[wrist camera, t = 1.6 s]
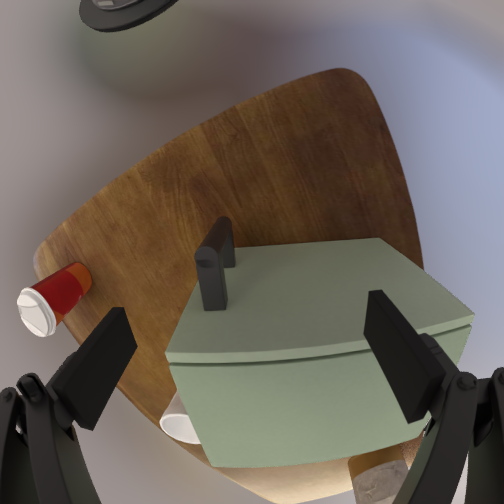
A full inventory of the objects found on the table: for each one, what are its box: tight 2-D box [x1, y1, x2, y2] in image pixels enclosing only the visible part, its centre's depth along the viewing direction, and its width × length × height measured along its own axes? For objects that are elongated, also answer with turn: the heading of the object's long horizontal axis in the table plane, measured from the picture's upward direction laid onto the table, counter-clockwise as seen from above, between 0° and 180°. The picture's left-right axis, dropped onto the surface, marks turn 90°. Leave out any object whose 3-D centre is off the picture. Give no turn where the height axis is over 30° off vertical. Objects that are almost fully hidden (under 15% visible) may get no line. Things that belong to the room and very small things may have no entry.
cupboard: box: [169, 324, 472, 468], centre depth 32 cm, size 18×26×24 cm
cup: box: [160, 390, 201, 444], centre depth 44 cm, size 10×10×13 cm
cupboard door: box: [165, 216, 475, 363], centre depth 28 cm, size 7×26×24 cm, turn 95°
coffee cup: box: [17, 262, 92, 337], centre depth 36 cm, size 8×8×15 cm
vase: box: [348, 444, 409, 504], centre depth 49 cm, size 18×18×30 cm
